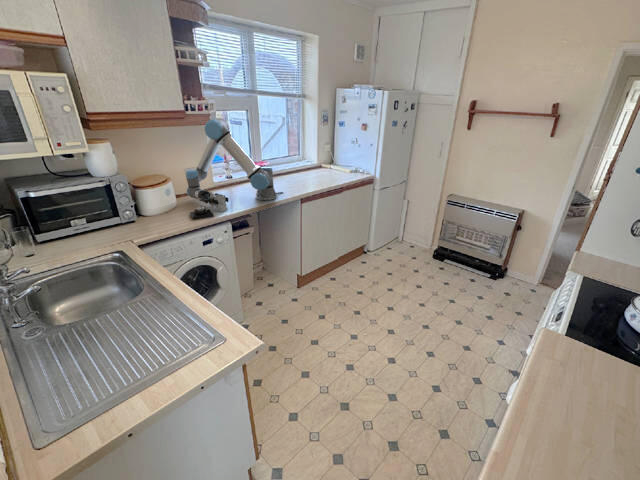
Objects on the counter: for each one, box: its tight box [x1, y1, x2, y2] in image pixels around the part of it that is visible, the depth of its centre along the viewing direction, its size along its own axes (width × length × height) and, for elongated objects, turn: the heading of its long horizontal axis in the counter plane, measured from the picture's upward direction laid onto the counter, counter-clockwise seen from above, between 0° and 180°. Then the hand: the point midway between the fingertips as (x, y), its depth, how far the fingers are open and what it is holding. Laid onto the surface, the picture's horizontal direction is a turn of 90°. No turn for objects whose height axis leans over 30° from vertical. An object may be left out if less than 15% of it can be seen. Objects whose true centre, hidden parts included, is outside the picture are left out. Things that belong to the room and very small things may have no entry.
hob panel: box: [189, 207, 214, 221], centre depth 202 cm, size 12×10×4 cm
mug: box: [209, 191, 228, 213], centre depth 213 cm, size 8×12×12 cm, turn 75°
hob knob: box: [196, 206, 205, 211], centre depth 201 cm, size 4×4×2 cm
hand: (222, 201), depth 210 cm, fingers closed on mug, 7 cm apart
